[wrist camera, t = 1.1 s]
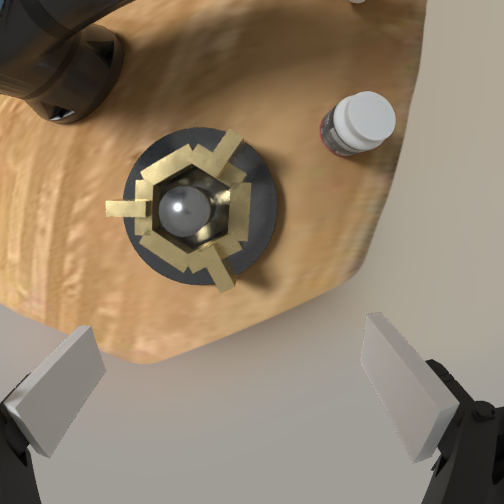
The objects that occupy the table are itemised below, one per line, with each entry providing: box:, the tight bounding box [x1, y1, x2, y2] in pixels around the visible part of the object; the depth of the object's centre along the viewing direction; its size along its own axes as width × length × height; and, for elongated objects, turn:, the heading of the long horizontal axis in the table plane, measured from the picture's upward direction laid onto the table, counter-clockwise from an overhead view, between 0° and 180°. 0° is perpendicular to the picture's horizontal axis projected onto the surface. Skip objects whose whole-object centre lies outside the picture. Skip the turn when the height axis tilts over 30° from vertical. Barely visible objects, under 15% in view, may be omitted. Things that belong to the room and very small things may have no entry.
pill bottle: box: [320, 91, 396, 156], centre depth 26 cm, size 6×6×10 cm
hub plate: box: [123, 128, 277, 285], centre depth 32 cm, size 18×18×2 cm
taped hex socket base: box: [106, 129, 251, 293], centre depth 29 cm, size 15×16×4 cm
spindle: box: [159, 186, 216, 237], centre depth 29 cm, size 5×5×8 cm
